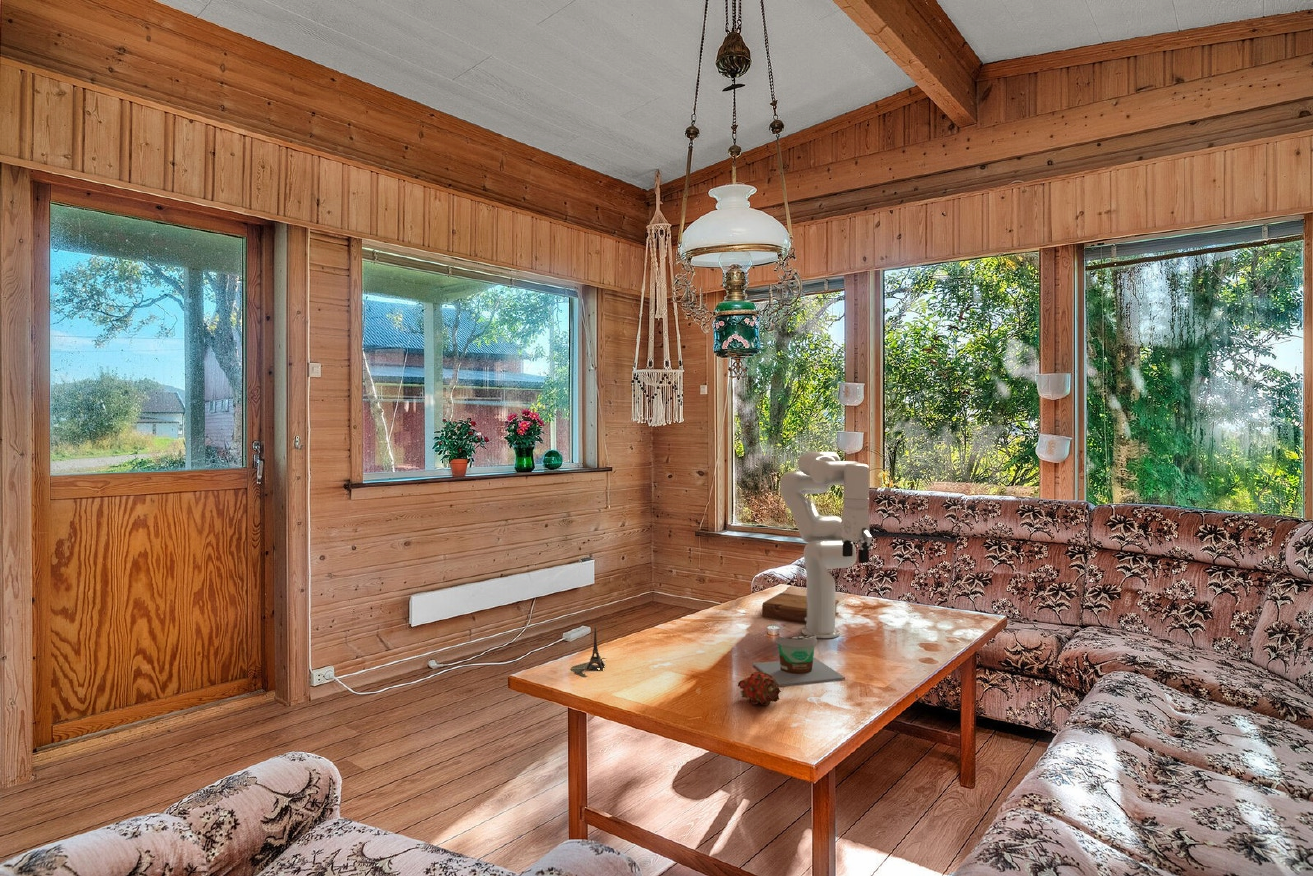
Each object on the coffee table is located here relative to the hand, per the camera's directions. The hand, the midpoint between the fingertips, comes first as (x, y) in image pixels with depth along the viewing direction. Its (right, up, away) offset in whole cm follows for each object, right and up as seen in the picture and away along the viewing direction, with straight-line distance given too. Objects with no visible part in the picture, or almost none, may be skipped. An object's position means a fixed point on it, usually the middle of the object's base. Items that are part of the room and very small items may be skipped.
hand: (855, 559), depth 225 cm
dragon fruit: (-35, -31, -37) cm, 59 cm away
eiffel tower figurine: (-79, -31, -10) cm, 85 cm away
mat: (-20, -30, -14) cm, 39 cm away
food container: (-20, -30, -15) cm, 39 cm away
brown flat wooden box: (-7, -29, +48) cm, 57 cm away
